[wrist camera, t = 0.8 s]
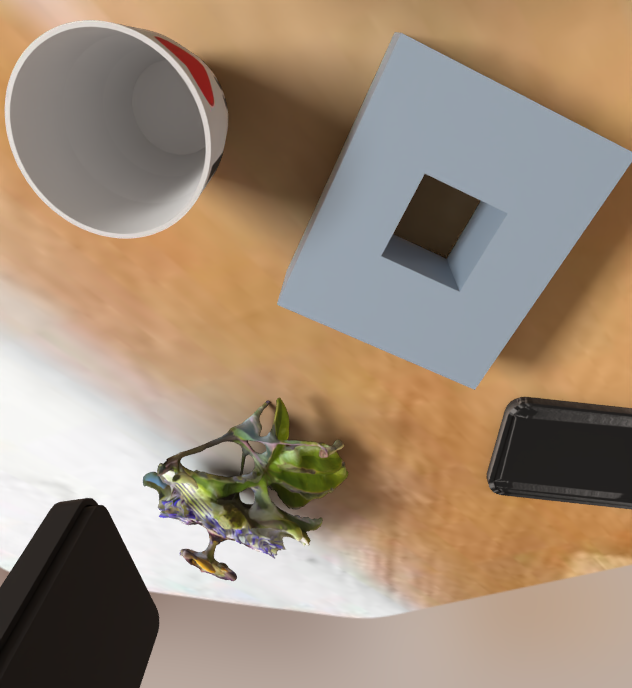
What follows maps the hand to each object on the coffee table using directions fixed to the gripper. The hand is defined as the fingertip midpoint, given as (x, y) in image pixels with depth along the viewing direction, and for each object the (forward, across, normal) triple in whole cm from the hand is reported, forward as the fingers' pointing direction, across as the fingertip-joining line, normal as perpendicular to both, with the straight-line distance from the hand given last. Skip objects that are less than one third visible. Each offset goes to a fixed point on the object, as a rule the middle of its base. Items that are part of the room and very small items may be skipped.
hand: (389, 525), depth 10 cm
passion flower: (+27, +11, +17) cm, 34 cm away
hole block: (+27, -3, +2) cm, 27 cm away
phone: (+27, -12, +22) cm, 37 cm away
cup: (+27, +9, -6) cm, 29 cm away
